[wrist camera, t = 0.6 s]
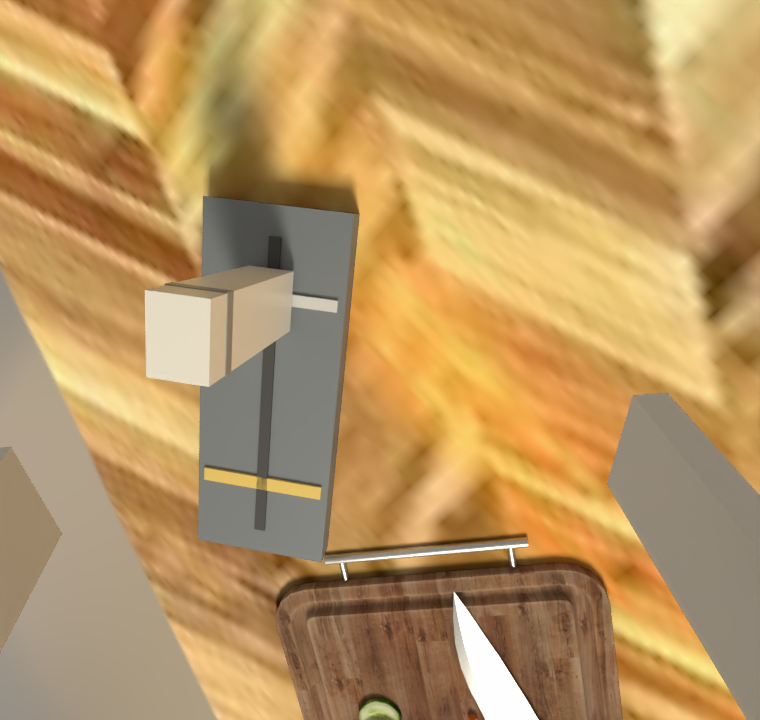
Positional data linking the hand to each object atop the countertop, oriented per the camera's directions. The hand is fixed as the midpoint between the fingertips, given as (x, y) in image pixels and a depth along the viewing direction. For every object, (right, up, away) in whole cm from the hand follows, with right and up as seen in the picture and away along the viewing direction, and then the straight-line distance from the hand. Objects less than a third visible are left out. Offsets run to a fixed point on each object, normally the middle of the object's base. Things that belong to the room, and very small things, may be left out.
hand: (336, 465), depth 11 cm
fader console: (-7, 0, +27) cm, 28 cm away
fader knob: (-6, +6, +23) cm, 24 cm away
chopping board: (+9, -33, +35) cm, 49 cm away
